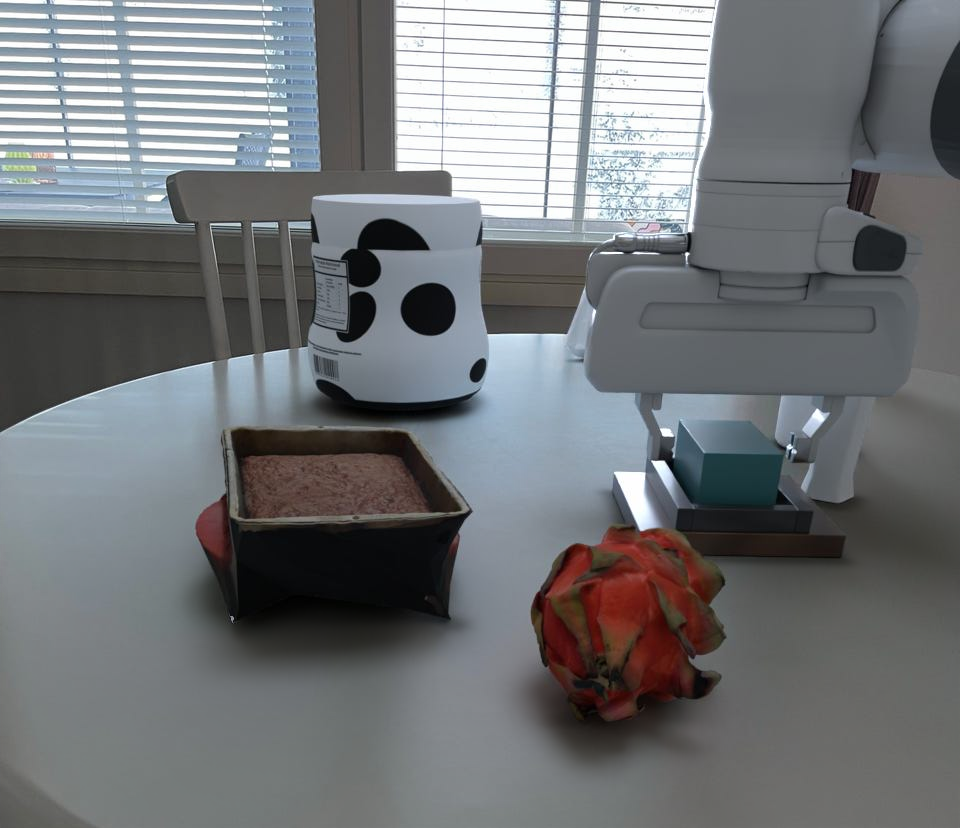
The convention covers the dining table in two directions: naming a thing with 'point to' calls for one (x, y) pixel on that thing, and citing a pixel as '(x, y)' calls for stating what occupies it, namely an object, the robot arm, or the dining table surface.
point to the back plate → (728, 517)
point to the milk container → (397, 300)
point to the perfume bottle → (839, 453)
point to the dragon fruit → (629, 621)
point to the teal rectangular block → (726, 463)
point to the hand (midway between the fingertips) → (729, 459)
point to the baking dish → (332, 519)
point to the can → (792, 416)
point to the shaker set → (579, 328)
